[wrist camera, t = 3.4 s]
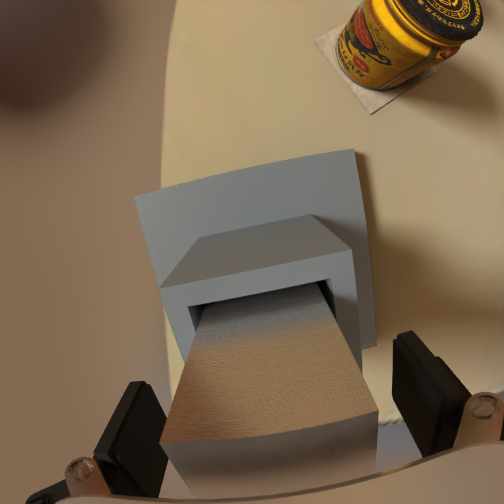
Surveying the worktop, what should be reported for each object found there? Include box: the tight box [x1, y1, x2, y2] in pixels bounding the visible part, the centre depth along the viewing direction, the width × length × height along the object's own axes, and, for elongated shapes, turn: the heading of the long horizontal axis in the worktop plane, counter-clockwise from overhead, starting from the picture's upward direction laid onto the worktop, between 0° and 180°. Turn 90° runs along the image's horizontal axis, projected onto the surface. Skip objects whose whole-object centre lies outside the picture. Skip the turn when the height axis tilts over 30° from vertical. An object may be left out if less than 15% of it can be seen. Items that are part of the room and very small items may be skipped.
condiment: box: [312, 0, 484, 114], centre depth 14 cm, size 7×8×12 cm
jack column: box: [159, 281, 379, 499], centre depth 15 cm, size 5×5×17 cm
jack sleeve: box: [134, 149, 377, 373], centre depth 19 cm, size 16×16×12 cm
